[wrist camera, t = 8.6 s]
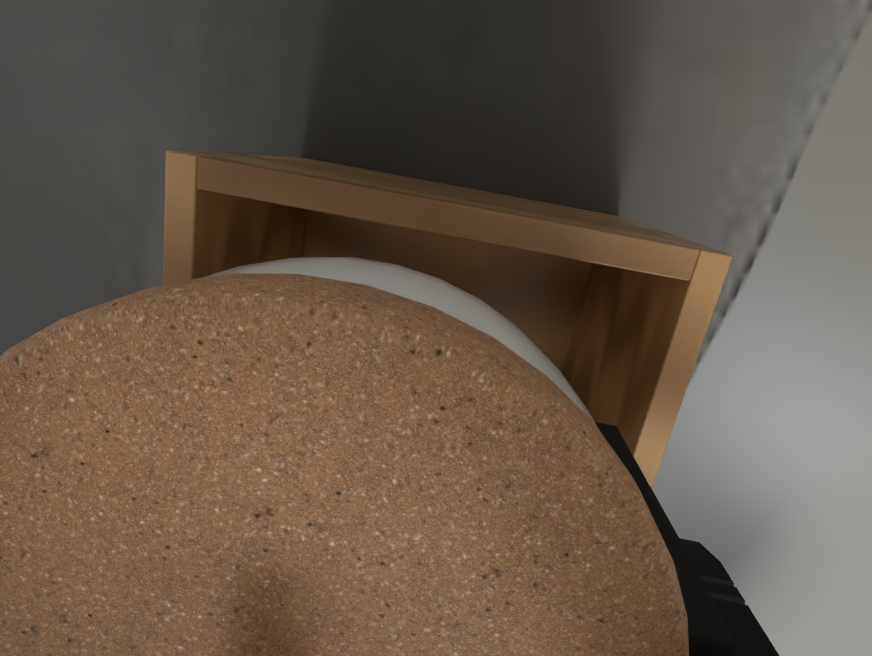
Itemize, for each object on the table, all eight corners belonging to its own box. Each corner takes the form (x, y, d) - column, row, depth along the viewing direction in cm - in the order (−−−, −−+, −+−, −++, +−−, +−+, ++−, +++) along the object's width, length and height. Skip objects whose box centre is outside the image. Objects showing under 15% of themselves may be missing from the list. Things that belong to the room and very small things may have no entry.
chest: (300, 157, 26) (165, 149, 15) (619, 216, 26) (734, 255, 14) (271, 468, 31) (155, 641, 20) (534, 519, 31) (569, 724, 20)
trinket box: (635, 278, 13) (1008, 530, 4) (515, 616, 16) (568, 1187, 7) (207, 173, 13) (-414, 182, 4) (172, 532, 16) (-215, 995, 7)
